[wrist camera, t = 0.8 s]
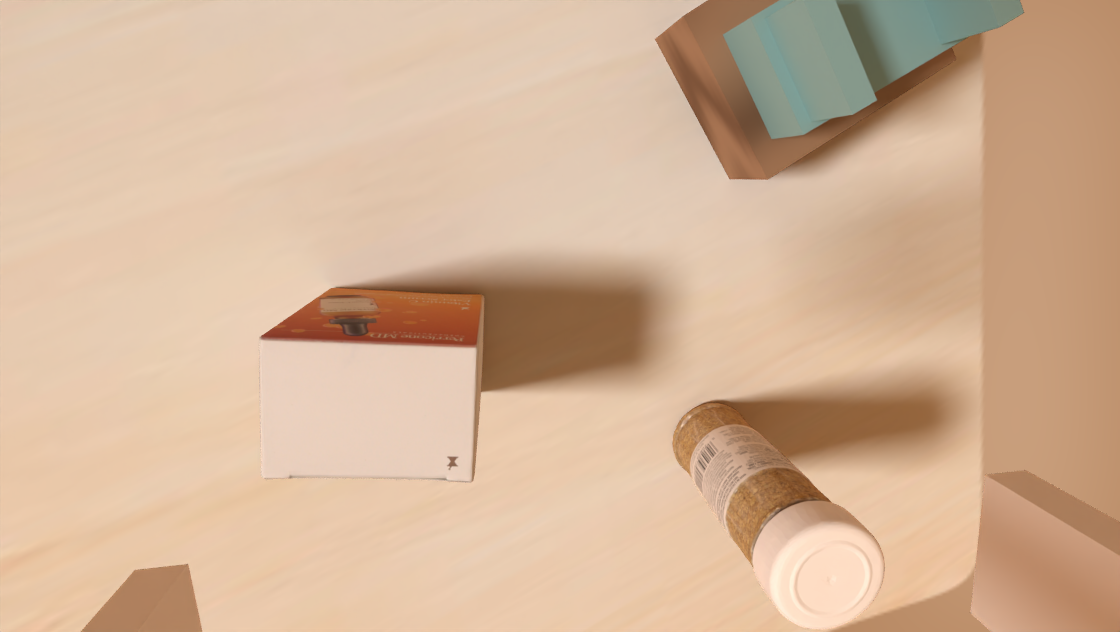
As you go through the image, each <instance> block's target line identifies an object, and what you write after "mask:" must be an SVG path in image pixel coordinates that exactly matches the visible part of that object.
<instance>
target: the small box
mask: <svg viewBox="0 0 1120 632" xmlns="http://www.w3.org/2000/svg"><path fill="white" fill-rule="evenodd" d="M483 337H484V295H481V294H438V293H418V292H401V291H385V290H364V289H346V288H331V289H329V290H328V291H326V292H325V293H323V294H322V295H320V296H319V297H317V298H316V299H314V300H313V301H312V302H310V303H309V304H307V305H306V306H304V307H303V308H302V309H300V310H299V311H297V312H296V313H294V314H293V315H291V316H290V317H288V318H287V319H285V320H284V321H283V322H281V323H280V324H278V325H277V326H275V327H274V328H272V329H271V330H269V331H268V332H267V333H265V334H264V335H262V336H261V337H260V338H259V387H260V442H261V476H262V478H264V479H291V478H351V479H407V480H438V481H448V482H465V483H471V482H472V481H473V479H474V474H475V463H476V451H477V438H478V425H479V412H480V397H481V382H482V364H483Z"/></svg>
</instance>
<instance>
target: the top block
mask: <svg viewBox="0 0 1120 632" xmlns="http://www.w3.org/2000/svg"><path fill="white" fill-rule="evenodd" d="M1023 13H1024V11H1023V8H1022V5H1021V2H1020V0H779V1H777V2H776V3H774V4H772V5H771V6H769V7H767V8H766V9H764V10H762V11H761V12H759V13H757V14H756V15H754V16H752V17H751V18H749V19H747V20H746V21H744V22H743V23H741V24H739V25H738V26H736V27H734V28H733V29H731V30H729V31H728V32H726V33H724V34H723V36H724V38H725V41H726V43H727V45H728V47H729V49H730V51H731V53H732V56H733V58H734V60H735V62H736V64H737V66H738V68H739V71H740V73H741V75H742V77H743V79H744V81H745V83H746V86H747V88H748V90H749V92H750V94H751V96H752V98H753V101H754V103H755V105H756V107H757V109H758V111H759V113H760V115H761V118H762V120H763V122H764V124H765V126H766V128H767V130H768V133H769V135H770V137H771V139H777V138H784V137H792V136H799V135H804V134H806V133H808V132H809V131H811V130H813V129H814V128H816V127H818V126H819V125H821V124H823V123H824V122H826V121H828V120H829V119H831V118H836V117H842V116H848V115H853V114H855V113H856V112H858V111H860V110H861V109H863V108H865V107H866V106H868V105H870V104H871V103H873V102H875V101H877V99H876V96H875V94H874V93H875V92H877V91H878V90H880V89H882V88H883V87H885V86H887V85H888V84H890V83H892V82H893V81H895V80H897V79H898V78H900V77H902V76H904V75H905V74H907V73H909V72H910V71H912V70H914V69H915V68H917V67H919V66H920V65H922V64H924V63H925V62H927V61H929V60H930V59H932V58H934V57H935V56H937V55H939V54H941V53H942V52H944V51H946V50H947V49H949V48H951V47H952V46H954V45H956V44H957V43H959V42H961V41H962V40H964V39H966V38H967V37H969V36H972V35H975V34H979V33H982V32H986V31H989V30H992V29H995V28H999V27H1001V26H1003V25H1004V24H1006V23H1008V22H1009V21H1011V20H1013V19H1015V18H1016V17H1018V16H1019V15H1021V14H1023Z"/></svg>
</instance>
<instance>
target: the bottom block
mask: <svg viewBox="0 0 1120 632" xmlns="http://www.w3.org/2000/svg"><path fill="white" fill-rule="evenodd" d="M777 1H779V0H708V1H706V2H704V3H703V4H701V5H700V6H698V7H697V8H695V9H694V10H692V11H691V12H689V13H687V14H686V15H684V16H683V17H682V18H680V19H679V20H678V21H677V22H676V23H674V24H673V25H672V26H671V27H669V28H668V29H667V30H666V31H665V32H663V33H662V34H661V35H660V36H658V37H657V38H656V39H655V40H656V42H657V44H658V46H659V48H660V49H661V51H662V53H663V55H664V57H665V59H666V61H667V63H668V64H669V66H670V68H671V70H672V72H673V74H674V76H675V78H676V79H677V81H678V83H679V85H680V87H681V89H682V91H683V93H684V94H685V96H686V98H687V100H688V102H689V104H690V106H691V108H692V110H693V111H694V113H695V115H696V117H697V119H698V121H699V123H700V125H701V126H702V128H703V130H704V132H705V134H706V136H707V138H708V140H709V141H710V143H711V145H712V147H713V149H714V151H715V153H716V155H717V156H718V158H719V160H720V162H721V164H722V166H723V168H724V170H725V171H726V173H727V175H728V177H729V179H766V180H768V179H769V178H771V177H773V176H774V175H776V174H777V173H779V172H780V171H782V170H784V169H785V168H787V167H788V166H790V165H791V164H793V163H795V162H796V161H798V160H799V159H801V158H802V157H804V156H806V155H807V154H809V153H810V152H812V151H813V150H815V149H817V148H818V147H820V146H821V145H823V144H824V143H826V142H828V141H829V140H831V139H832V138H834V137H836V136H837V135H839V134H840V133H842V132H843V131H845V130H847V129H848V128H850V127H851V126H853V125H854V124H856V123H858V122H859V121H861V120H862V119H864V118H865V117H867V116H869V115H870V114H872V113H873V112H875V111H876V110H878V109H880V108H881V107H883V106H884V105H886V104H887V103H889V102H891V101H892V100H894V99H895V98H897V97H898V96H900V95H902V94H903V93H905V92H906V91H908V90H909V89H911V88H913V87H914V86H916V85H917V84H919V83H920V82H922V81H924V80H925V79H927V78H928V77H930V76H931V75H933V74H935V73H936V72H938V71H939V70H941V69H942V68H944V67H946V66H947V65H949V64H950V63H952V62H953V61H955V60H956V57H955V55H954V52H953V50H952V47H951V48H949V49H947V50H946V51H944V52H942V53H941V54H939V55H937V56H935V57H934V58H932V59H930V60H929V61H927V62H925V63H924V64H922V65H920V66H919V67H917V68H915V69H914V70H912V71H910V72H909V73H907V74H905V75H904V76H902V77H900V78H898V79H897V80H895V81H893V82H892V83H890V84H888V85H887V86H885V87H883V88H882V89H880V90H878V91H877V92H875V93H874V94H875V96H876V99H877V101H875V102H873V103H871V104H870V105H868V106H866V107H865V108H863V109H861V110H860V111H858V112H856V113H855V114H853V115H848V116H842V117H836V118H831V119H829V120H828V121H826V122H824V123H823V124H821V125H819V126H818V127H816V128H814V129H813V130H811V131H809V132H808V133H806V134H804V135H799V136H792V137H784V138H777V139H771V137H770V135H769V133H768V130H767V128H766V126H765V124H764V122H763V120H762V118H761V115H760V113H759V111H758V109H757V107H756V105H755V103H754V101H753V98H752V96H751V94H750V92H749V90H748V88H747V86H746V83H745V81H744V79H743V77H742V75H741V73H740V71H739V68H738V66H737V64H736V62H735V60H734V58H733V56H732V53H731V51H730V49H729V47H728V45H727V43H726V41H725V38H724V36H723V34H724V33H726V32H728V31H729V30H731V29H733V28H734V27H736V26H738V25H739V24H741V23H743V22H744V21H746V20H747V19H749V18H751V17H752V16H754V15H756V14H757V13H759V12H761V11H762V10H764V9H766V8H767V7H769V6H771V5H772V4H774V3H776V2H777Z"/></svg>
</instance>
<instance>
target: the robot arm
mask: <svg viewBox="0 0 1120 632" xmlns="http://www.w3.org/2000/svg"><path fill="white" fill-rule="evenodd" d="M971 614H972V615H973V616H974V617H976V618H977V619H978V620H979V621H980V622H981V623H982V624H983V625H984V626H986V627H987V628H988V629H989V630H990V631H991V632H1120V522H1119V521H1117V520H1116V519H1114V518H1112V517H1110V516H1108V515H1106V514H1104V513H1103V512H1101V511H1099V510H1097V509H1096V508H1094V507H1092V506H1090V505H1088V504H1086V503H1085V502H1082V501H1081V500H1079V499H1077V498H1075V497H1074V496H1072V495H1070V494H1068V493H1066V492H1065V491H1063V490H1060V489H1059V488H1057V487H1055V486H1054V485H1052V484H1050V483H1048V482H1046V481H1044V480H1043V479H1041V478H1039V477H1037V476H1035V475H1034V474H1032V473H1030V472H1028V471H1026V470H1024V471H1014V472H1005V473H996V474H988V475H985V480H984V490H983V499H982V509H981V518H980V528H979V537H978V547H977V556H976V566H975V576H974V586H973V594H972V604H971ZM81 632H202V628H201V623H200V618H199V613H198V609H197V604H196V599H195V594H194V590H193V585H192V580H191V575H190V571H189V566H188V564H185V565H176V566H167V567H158V568H149V569H141V570H135V571H134V572H133V573H132V574H131V575H130V576H129V577H128V579H127V580H126V581H125V582H124V583H123V584H122V585H121V587H120V588H119V589H118V590H117V591H116V592H115V593H114V595H113V596H112V597H111V598H110V599H109V600H108V601H107V602H106V604H105V605H104V606H103V607H102V608H101V609H100V610H99V612H98V613H97V614H96V615H95V616H94V617H93V618H92V620H91V621H90V622H89V623H88V624H87V625H86V626H85V628H84V629H83V630H82V631H81Z"/></svg>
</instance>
